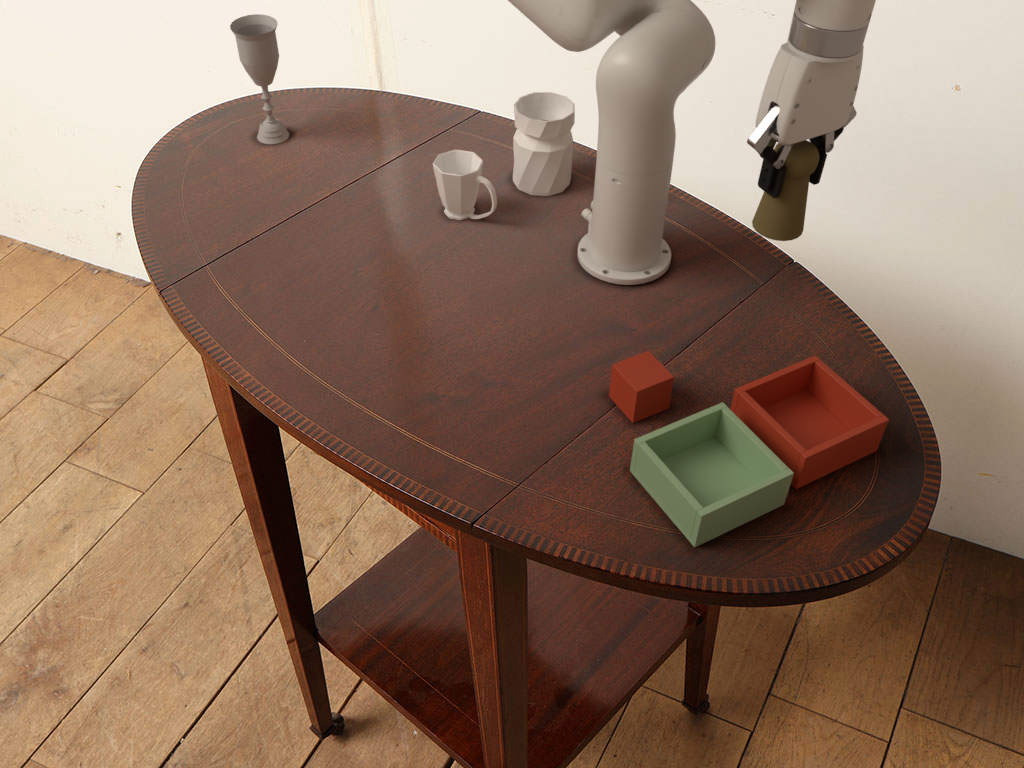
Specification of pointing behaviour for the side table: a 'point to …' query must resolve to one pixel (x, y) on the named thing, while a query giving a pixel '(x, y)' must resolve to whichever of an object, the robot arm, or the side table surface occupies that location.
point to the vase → (543, 143)
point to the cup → (461, 183)
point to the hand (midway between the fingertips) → (788, 183)
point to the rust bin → (810, 419)
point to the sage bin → (710, 473)
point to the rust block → (641, 386)
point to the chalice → (261, 66)
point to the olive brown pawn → (788, 196)
